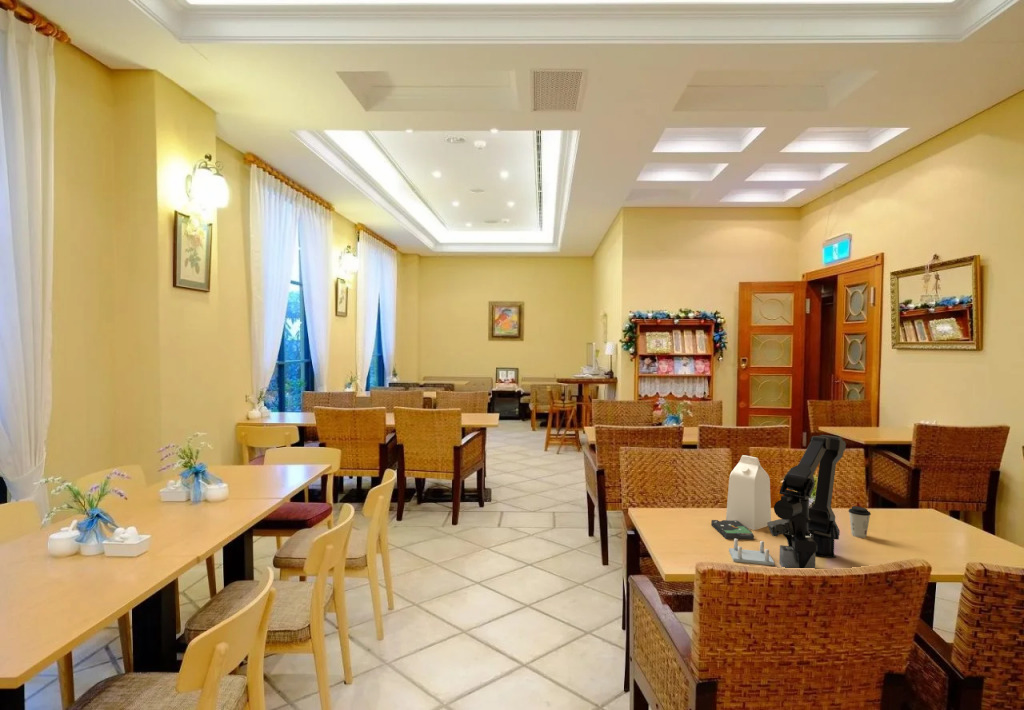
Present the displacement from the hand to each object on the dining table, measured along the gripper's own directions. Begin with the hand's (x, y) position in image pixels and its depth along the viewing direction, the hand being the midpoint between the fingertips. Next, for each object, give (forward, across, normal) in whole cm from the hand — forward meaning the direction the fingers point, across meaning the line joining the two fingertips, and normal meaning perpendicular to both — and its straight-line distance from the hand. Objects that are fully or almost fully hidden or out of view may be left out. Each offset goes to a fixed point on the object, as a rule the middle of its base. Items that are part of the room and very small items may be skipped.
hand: (797, 563), depth 167 cm
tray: (+2, -4, -12) cm, 13 cm away
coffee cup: (+2, -38, +30) cm, 49 cm away
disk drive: (+2, -29, -14) cm, 32 cm away
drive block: (+2, 0, 0) cm, 2 cm away
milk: (+2, -42, -6) cm, 43 cm away
